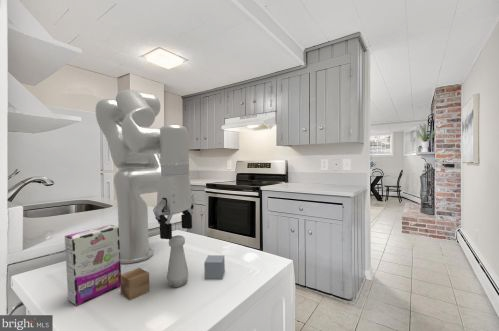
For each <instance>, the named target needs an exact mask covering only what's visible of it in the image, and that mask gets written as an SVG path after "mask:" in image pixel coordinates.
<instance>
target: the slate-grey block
mask: <svg viewBox="0 0 499 331" xmlns="http://www.w3.org/2000/svg"><path fill="white" fill-rule="evenodd" d="M204 260H205V261H204V264H203V266H204V269H203V270H204V280H213V281H214V280H215V281H216V280H223V279H224V275H225V272H226V270H225V269H226V268H225V267H226V266H225V264H226V263H225V255H223V254H221V255H219V254H218V255H216V254H215V255H210V254H209V255H207V257H206V259H204Z"/></svg>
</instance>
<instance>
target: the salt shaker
mask: <svg viewBox="0 0 499 331" xmlns="http://www.w3.org/2000/svg"><path fill="white" fill-rule="evenodd" d="M185 240H186V237H184V236H183V235H172V239H168V246H169V247H170V252H169V257H168V258H169V259H168V265H167V266H168V267H167V272H166V280H167V281H168V283H169V284H170V287H174V288H178V287H182V286H184V285H185V284H186V282H187V279H188V277H189V269H188V265H187V259H186V254H185V250H184V245H185V243H186V241H185Z"/></svg>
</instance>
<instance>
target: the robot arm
mask: <svg viewBox="0 0 499 331" xmlns="http://www.w3.org/2000/svg"><path fill="white" fill-rule="evenodd" d="M95 105H96V106H95V117H96V122H97V124H98V127H99V129H100V130H101V132H102V134H103V135H104V137H105V139H106V141H107V145H108V148H109V153H110V156H111V159H112V162H113V164H114V166H115V167H116V168H117V169H120V170H118V171H116V173H115V174H114V176H113V186H114V190H115V196H116V203H117V222H118V223H117V224H118V227H119V242H120V264H122V265H123V264H128V265H129V264H134V263H140V262H143V261H145V260H148V259H149V258H151V257H152V256H153V255H154V249H153V248H151V247H149V246H150V245H149V213H148V212H149V211H148V204H147V202H146V201H145V200H144V199H143V198H142V197H141V195H145V194H153V193H157V195H156V196H157V197H156V205H155V207H154V208H153V210H152V212H153V213H154V214H153V215H154V216H155V220H156V221H157V224H158V225H159V238H160V239H161V240H169V239H172V237H173V228H172V222H171V220H172V218H173V216H174V215H177V214H180V213H182V214H181V215H180V216H181V229H187V230H191V229H193V214H194V212H193V209H194V203H195V198H194V197H193V196H192V187H191V185H192V184H191V180H190V151H189V131H188V129H187V127H186V126H184V125H178V124H168V125H162V126H161V127H153V126H152V125H153V124H154V123H155V119H156V117H157V116H158V115H159V114H160V111H161V101H160V98H158V97H157V96H156V95H155V94H152V93H149V92H144V91H138V90H134V89H122V90H120V91H118V92H117V94H116V95H115V98H103V99H100V100H99V101H97V103H96V104H95Z"/></svg>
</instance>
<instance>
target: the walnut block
mask: <svg viewBox="0 0 499 331" xmlns="http://www.w3.org/2000/svg"><path fill="white" fill-rule="evenodd" d="M150 288H151V287H150V272H148V271H147V270H145V269H142V268H140V267H138V268H134V269H133V270H130V271H127V272H124V273H121V286H120V294H121V295H122V296H123V297H125V298H126V299H128V300H129V301H132V300H135V299H136V298H139V297H140V296H142V295H144V294H147V293H149V292H150V291H151V289H150Z"/></svg>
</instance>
